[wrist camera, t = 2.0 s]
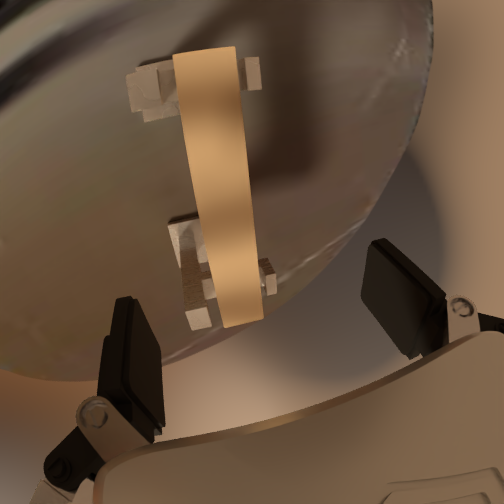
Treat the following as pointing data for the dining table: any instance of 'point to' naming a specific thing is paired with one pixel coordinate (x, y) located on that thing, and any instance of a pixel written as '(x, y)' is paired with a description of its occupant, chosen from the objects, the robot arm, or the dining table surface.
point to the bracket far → (201, 283)
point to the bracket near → (175, 87)
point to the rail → (220, 177)
